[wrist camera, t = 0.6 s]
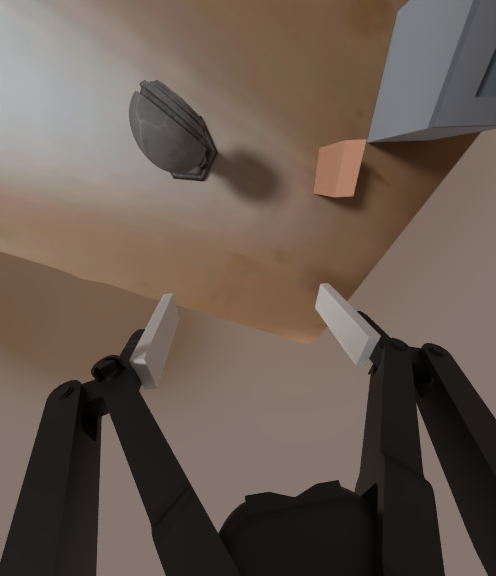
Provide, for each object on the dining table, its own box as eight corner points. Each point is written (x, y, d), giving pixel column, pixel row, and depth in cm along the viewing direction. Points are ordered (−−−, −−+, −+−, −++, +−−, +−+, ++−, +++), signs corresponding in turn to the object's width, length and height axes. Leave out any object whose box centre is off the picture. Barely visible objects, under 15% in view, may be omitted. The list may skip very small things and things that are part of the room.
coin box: (397, 11, 25) (518, -104, 15) (477, 13, 26) (644, -95, 16) (367, 142, 32) (433, 126, 22) (430, 140, 33) (522, 123, 23)
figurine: (225, 137, 30) (226, 107, 17) (196, 194, 33) (179, 204, 21) (173, 92, 26) (127, 14, 14) (148, 160, 30) (93, 149, 17)
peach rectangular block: (319, 148, 32) (345, 140, 25) (336, 147, 32) (366, 139, 25) (313, 193, 35) (335, 197, 29) (328, 192, 36) (353, 196, 29)
